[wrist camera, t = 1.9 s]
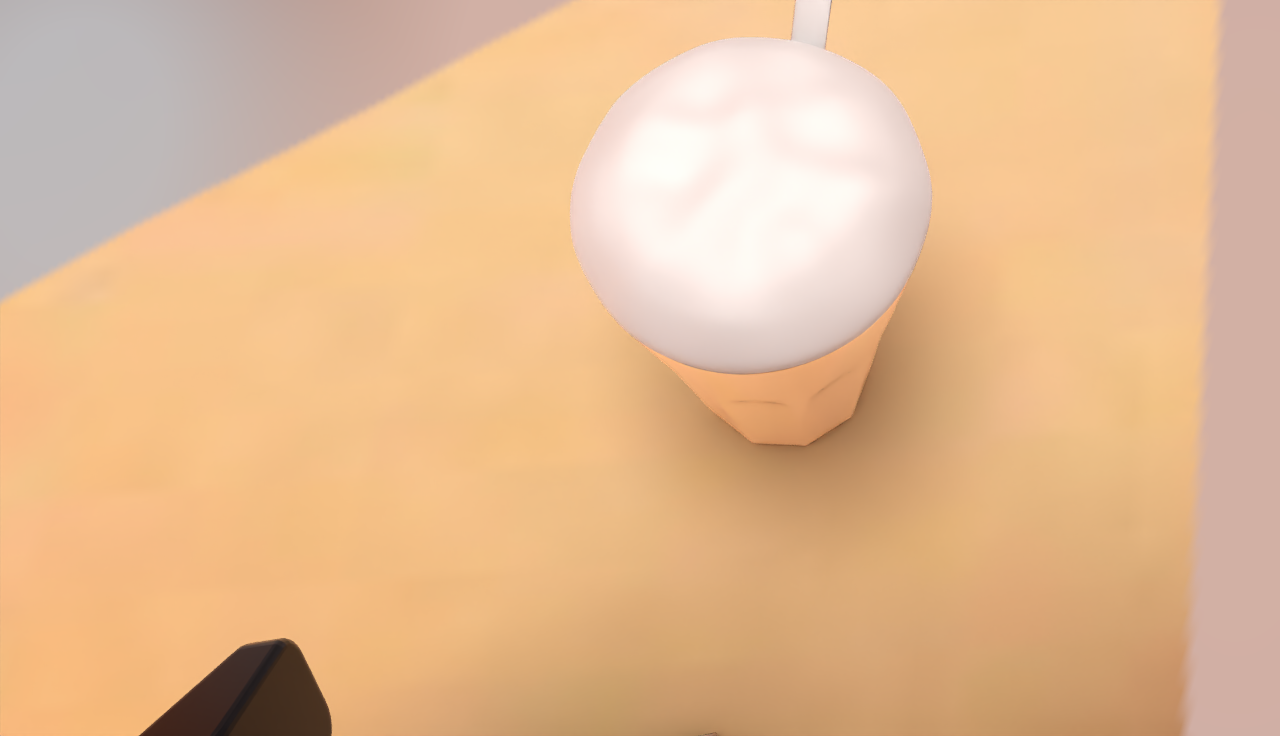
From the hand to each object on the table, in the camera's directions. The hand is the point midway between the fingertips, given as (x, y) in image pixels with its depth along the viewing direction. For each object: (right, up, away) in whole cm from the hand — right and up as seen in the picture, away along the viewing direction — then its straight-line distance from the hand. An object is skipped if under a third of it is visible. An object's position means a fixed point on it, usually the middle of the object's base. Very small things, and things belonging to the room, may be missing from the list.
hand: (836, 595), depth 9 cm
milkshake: (+1, +2, +13) cm, 14 cm away
